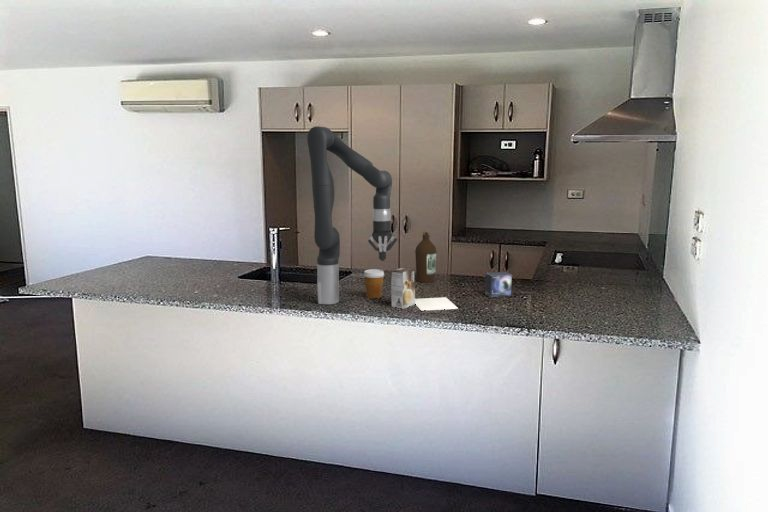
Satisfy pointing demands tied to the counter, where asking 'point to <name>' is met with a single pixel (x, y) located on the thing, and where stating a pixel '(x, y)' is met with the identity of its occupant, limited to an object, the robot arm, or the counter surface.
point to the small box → (498, 284)
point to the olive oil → (425, 260)
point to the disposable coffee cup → (373, 282)
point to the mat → (434, 304)
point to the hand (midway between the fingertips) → (382, 260)
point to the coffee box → (403, 287)
